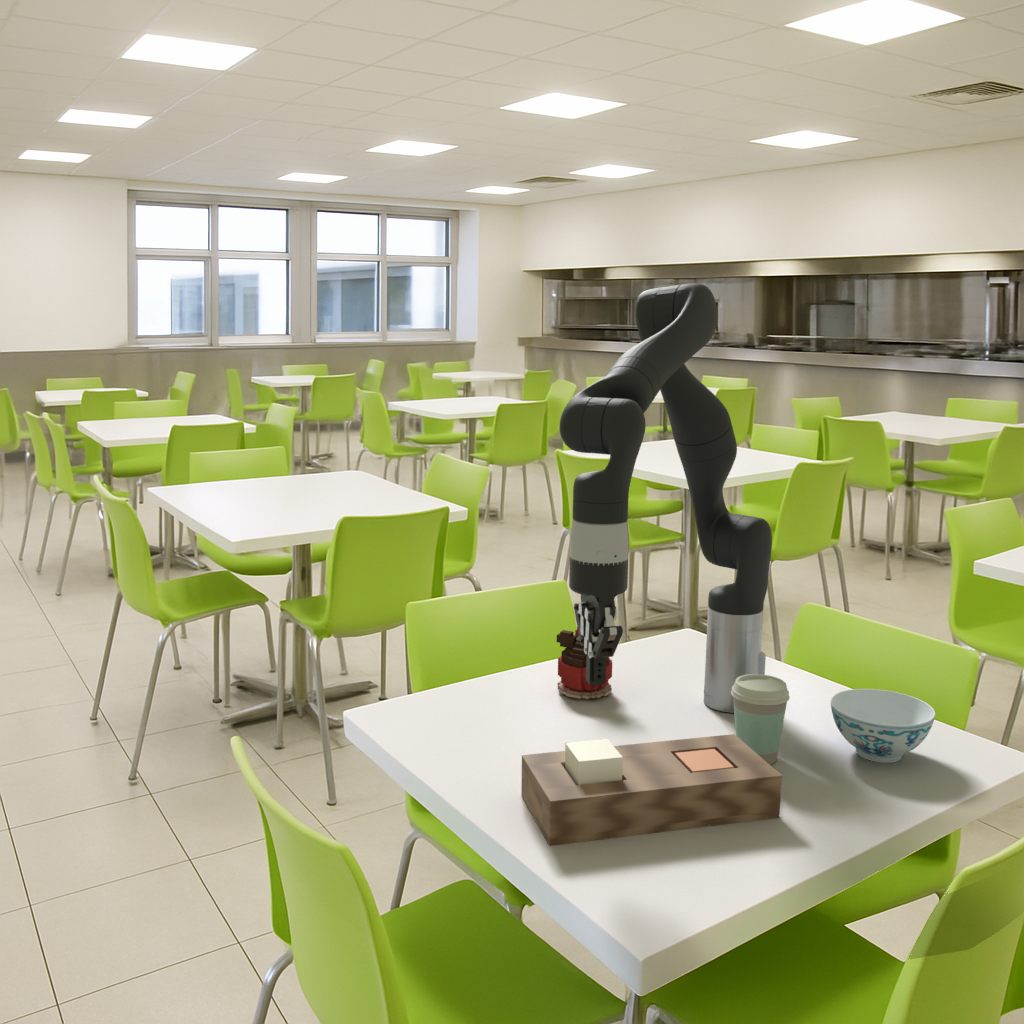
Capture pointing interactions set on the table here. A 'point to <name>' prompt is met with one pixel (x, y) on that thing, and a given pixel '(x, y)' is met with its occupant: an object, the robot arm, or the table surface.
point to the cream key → (593, 762)
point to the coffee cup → (760, 712)
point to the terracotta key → (703, 760)
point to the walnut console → (651, 792)
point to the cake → (578, 669)
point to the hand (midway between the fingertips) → (595, 683)
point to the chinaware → (881, 722)
